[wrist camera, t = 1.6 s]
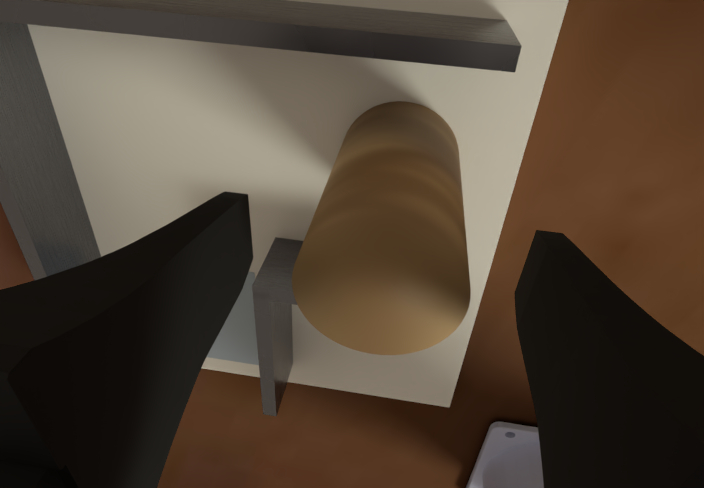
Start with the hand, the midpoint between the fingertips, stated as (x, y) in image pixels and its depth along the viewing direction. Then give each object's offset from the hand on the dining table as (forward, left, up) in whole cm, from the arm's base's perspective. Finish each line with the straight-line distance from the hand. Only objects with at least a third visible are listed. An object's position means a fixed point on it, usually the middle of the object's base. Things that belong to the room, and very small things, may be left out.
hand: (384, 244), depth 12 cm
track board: (+5, +4, -6) cm, 9 cm away
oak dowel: (0, 0, -5) cm, 5 cm away
